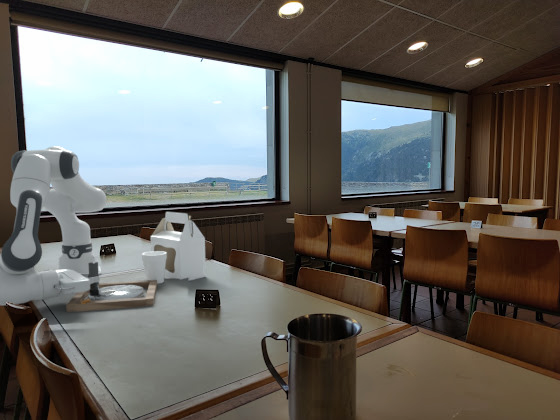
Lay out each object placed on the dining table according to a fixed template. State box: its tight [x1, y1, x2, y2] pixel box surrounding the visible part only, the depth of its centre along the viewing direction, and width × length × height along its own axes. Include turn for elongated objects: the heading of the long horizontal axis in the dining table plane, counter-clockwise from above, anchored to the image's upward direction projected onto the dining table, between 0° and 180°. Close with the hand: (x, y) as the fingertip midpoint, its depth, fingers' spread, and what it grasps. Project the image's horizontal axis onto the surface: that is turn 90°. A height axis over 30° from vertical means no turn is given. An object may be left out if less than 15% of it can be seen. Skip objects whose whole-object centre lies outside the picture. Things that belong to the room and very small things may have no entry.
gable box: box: [150, 211, 207, 281], centre depth 180 cm, size 22×13×28 cm, turn 49°
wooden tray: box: [65, 279, 158, 313], centre depth 144 cm, size 26×26×4 cm
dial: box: [87, 261, 145, 301], centre depth 143 cm, size 18×18×13 cm
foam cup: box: [141, 251, 167, 285], centre depth 165 cm, size 10×9×13 cm
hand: (95, 277), depth 140 cm, fingers open, 4 cm apart
